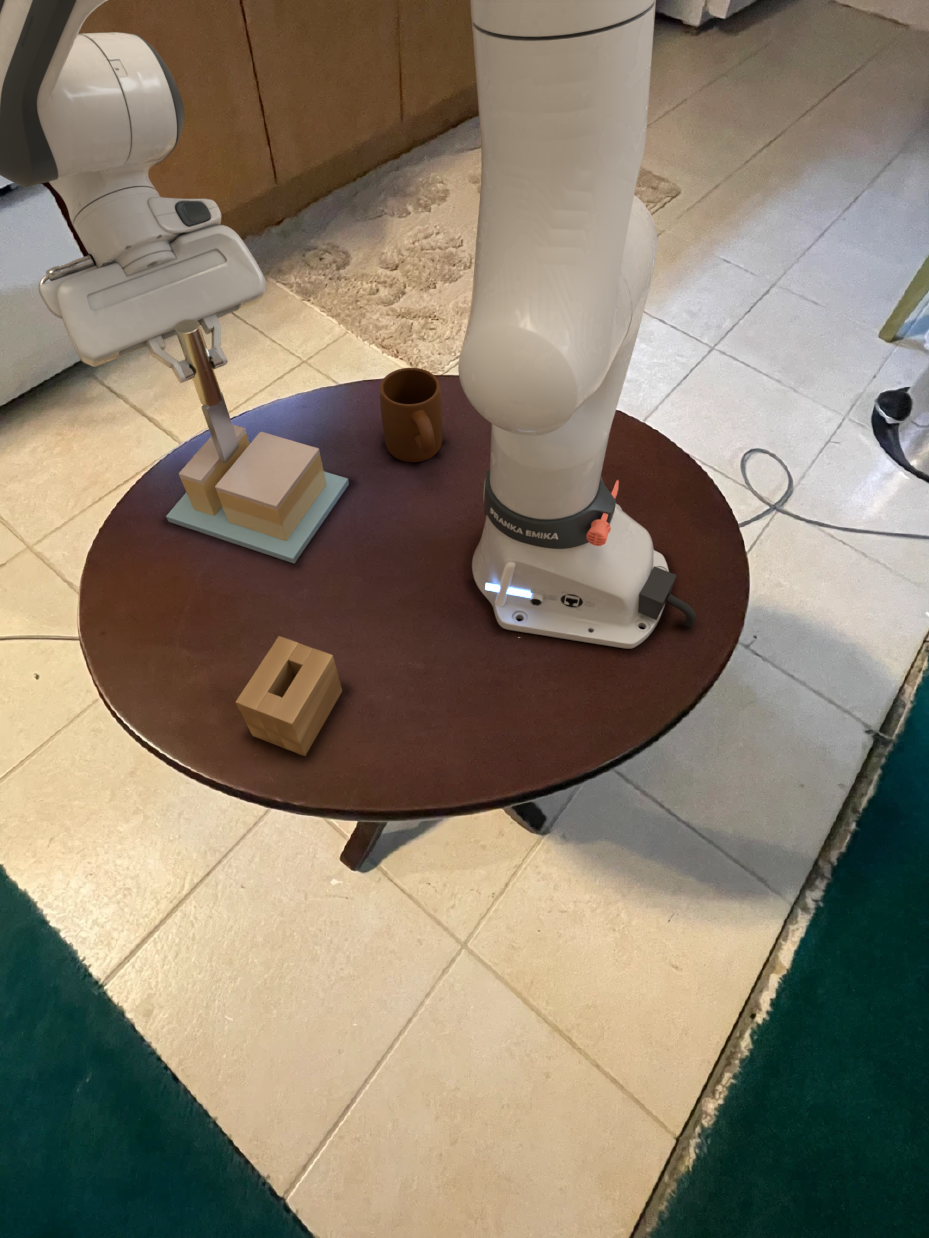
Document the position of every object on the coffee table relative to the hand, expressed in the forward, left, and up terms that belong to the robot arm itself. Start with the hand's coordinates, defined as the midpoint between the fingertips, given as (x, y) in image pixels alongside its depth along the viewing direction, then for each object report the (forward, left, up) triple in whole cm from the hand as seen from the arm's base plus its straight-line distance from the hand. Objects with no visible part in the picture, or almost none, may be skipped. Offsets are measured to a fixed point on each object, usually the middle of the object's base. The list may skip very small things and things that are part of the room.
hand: (204, 372), depth 79 cm
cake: (-2, 0, -19) cm, 19 cm away
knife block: (-20, +24, -19) cm, 37 cm away
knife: (+1, 0, -12) cm, 12 cm away
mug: (-16, -15, -19) cm, 30 cm away
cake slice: (+3, 0, -18) cm, 18 cm away
